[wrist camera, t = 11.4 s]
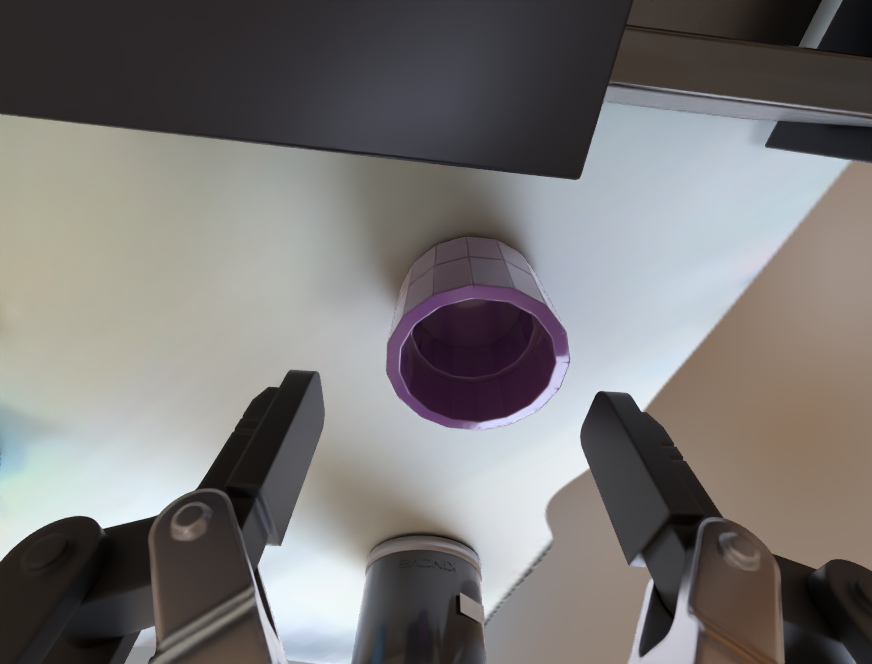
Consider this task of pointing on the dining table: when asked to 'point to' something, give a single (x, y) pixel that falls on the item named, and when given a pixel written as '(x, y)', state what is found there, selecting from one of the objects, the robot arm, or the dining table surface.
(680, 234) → the dining table surface
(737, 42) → the drawer
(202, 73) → the cabinet
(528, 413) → the cup
